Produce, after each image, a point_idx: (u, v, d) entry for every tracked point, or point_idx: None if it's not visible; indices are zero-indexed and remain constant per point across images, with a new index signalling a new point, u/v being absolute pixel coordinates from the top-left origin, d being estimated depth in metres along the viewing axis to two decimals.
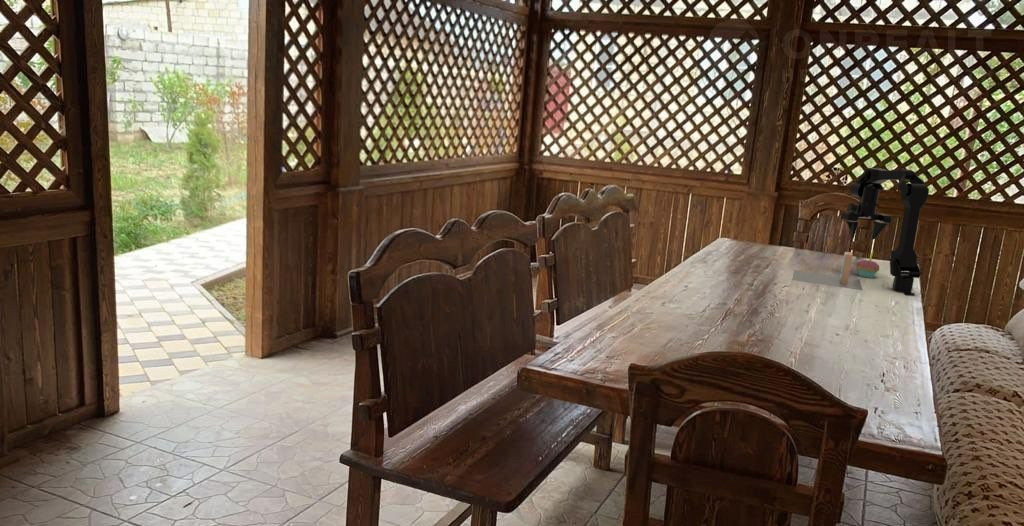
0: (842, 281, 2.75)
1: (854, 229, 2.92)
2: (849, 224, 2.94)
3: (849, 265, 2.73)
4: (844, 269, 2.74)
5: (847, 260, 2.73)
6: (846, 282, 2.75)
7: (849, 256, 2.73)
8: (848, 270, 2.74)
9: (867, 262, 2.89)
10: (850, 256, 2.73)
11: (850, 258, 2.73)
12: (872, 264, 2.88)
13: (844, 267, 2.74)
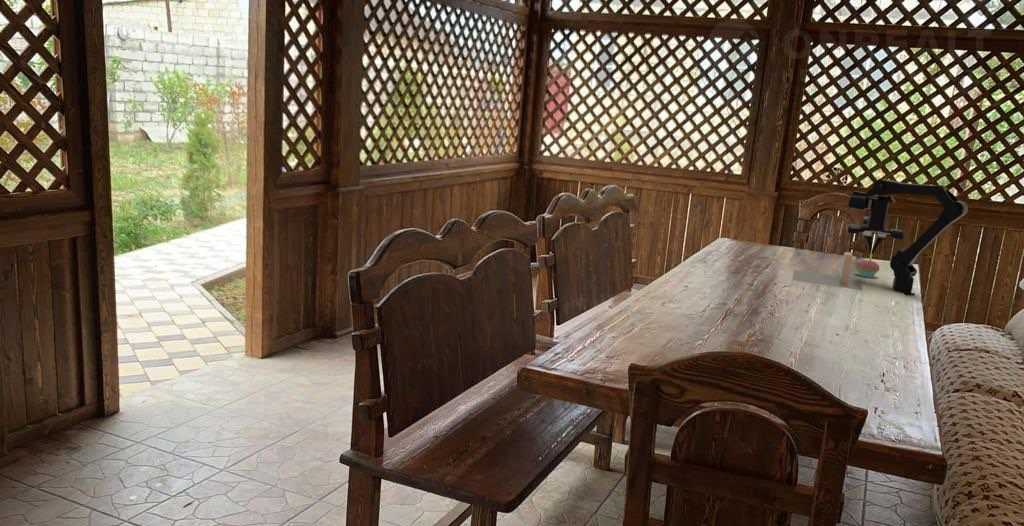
0: (842, 281, 2.75)
1: (869, 244, 2.75)
2: None
3: (849, 265, 2.73)
4: (844, 269, 2.74)
5: (847, 260, 2.73)
6: (846, 282, 2.75)
7: (849, 256, 2.73)
8: (848, 270, 2.74)
9: (867, 262, 2.89)
10: (850, 256, 2.73)
11: (850, 258, 2.73)
12: (872, 264, 2.88)
13: (844, 267, 2.74)
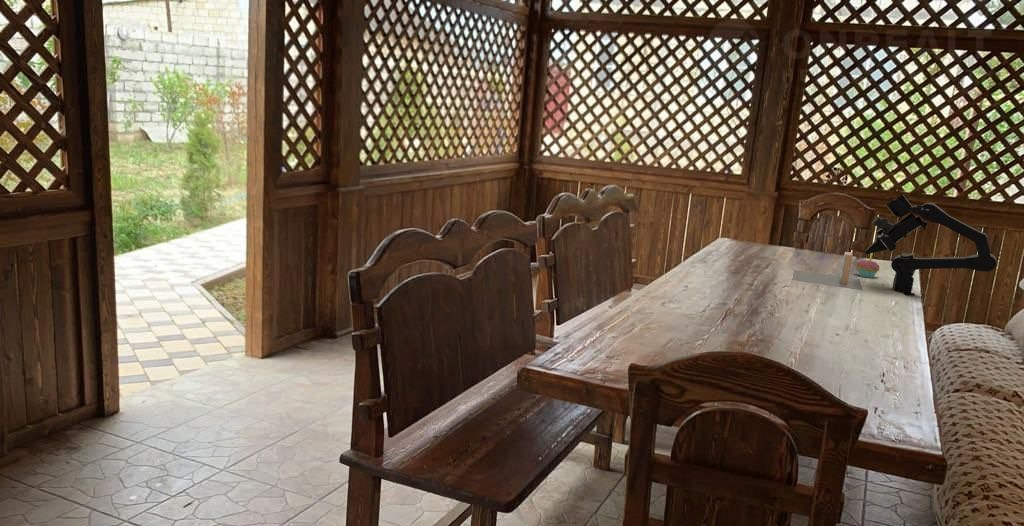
0: (842, 281, 2.75)
1: None
2: (877, 243, 2.70)
3: (849, 265, 2.73)
4: (844, 269, 2.74)
5: (847, 260, 2.73)
6: (846, 282, 2.75)
7: (849, 256, 2.73)
8: (848, 270, 2.74)
9: (867, 262, 2.89)
10: (850, 256, 2.73)
11: (850, 258, 2.73)
12: (872, 264, 2.88)
13: (844, 267, 2.74)
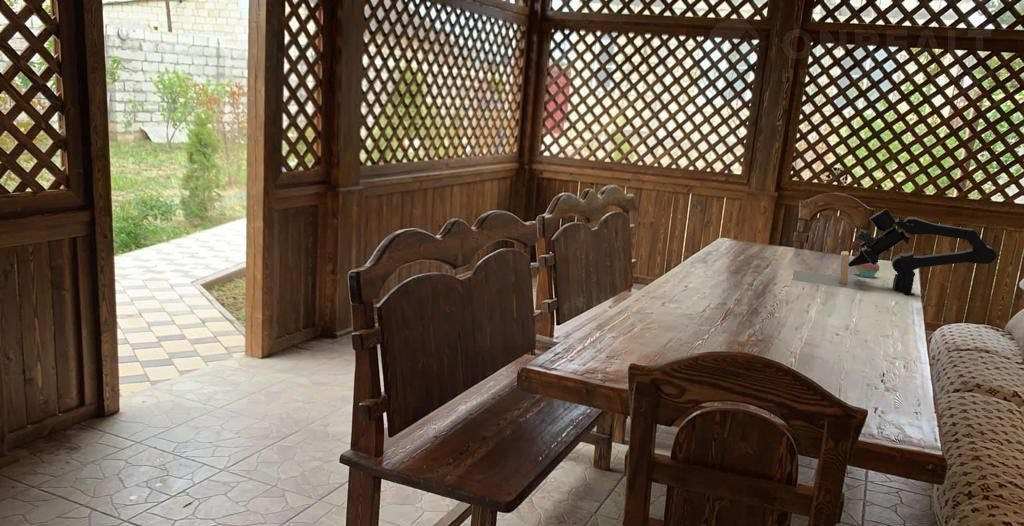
0: (842, 281, 2.75)
1: None
2: (860, 256, 2.73)
3: (847, 264, 2.73)
4: (842, 269, 2.74)
5: (844, 260, 2.74)
6: (846, 281, 2.75)
7: (845, 255, 2.73)
8: (846, 269, 2.74)
9: None
10: (846, 255, 2.73)
11: (847, 257, 2.73)
12: (872, 264, 2.88)
13: (842, 267, 2.74)
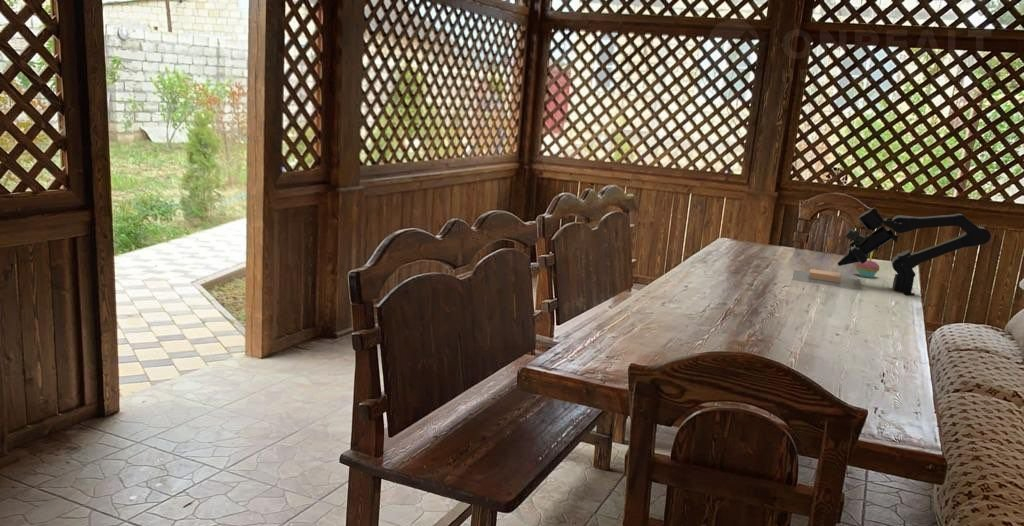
0: (838, 281, 2.76)
1: None
2: (849, 255, 2.74)
3: (820, 275, 2.78)
4: (825, 279, 2.77)
5: (815, 276, 2.78)
6: (839, 277, 2.75)
7: (810, 275, 2.79)
8: (826, 276, 2.77)
9: (867, 262, 2.89)
10: (810, 274, 2.79)
11: (813, 274, 2.79)
12: (872, 264, 2.88)
13: (822, 279, 2.78)
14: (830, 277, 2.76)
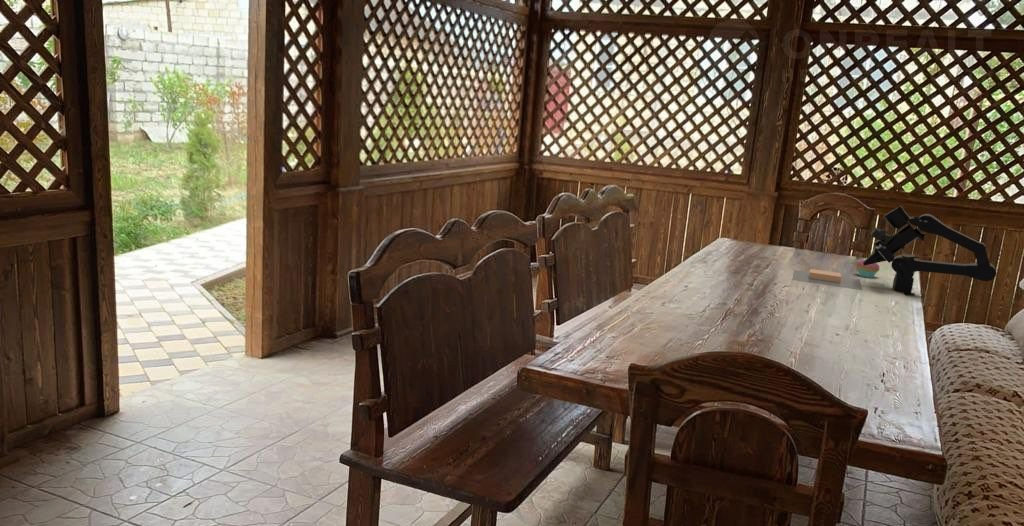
0: (838, 281, 2.76)
1: None
2: (875, 254, 2.71)
3: (820, 275, 2.78)
4: (825, 279, 2.77)
5: (815, 276, 2.78)
6: (839, 277, 2.75)
7: (810, 275, 2.79)
8: (826, 276, 2.77)
9: None
10: (810, 274, 2.79)
11: (813, 274, 2.79)
12: (872, 264, 2.88)
13: (822, 279, 2.78)
14: (830, 277, 2.76)
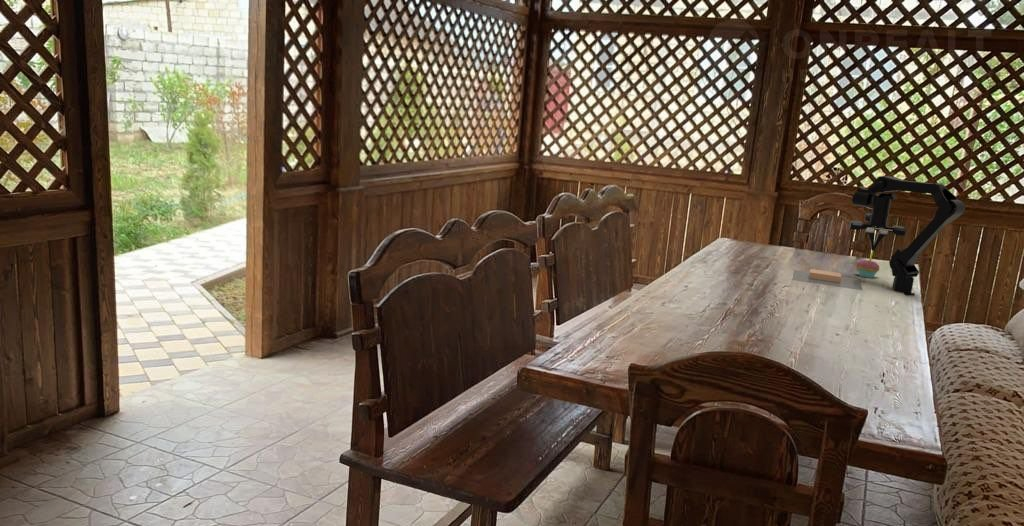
0: (838, 281, 2.76)
1: (871, 240, 2.77)
2: (870, 235, 2.79)
3: (820, 275, 2.78)
4: (825, 279, 2.77)
5: (815, 276, 2.78)
6: (839, 277, 2.75)
7: (810, 275, 2.79)
8: (826, 276, 2.77)
9: (867, 262, 2.89)
10: (810, 274, 2.79)
11: (813, 274, 2.79)
12: (872, 264, 2.88)
13: (822, 279, 2.78)
14: (830, 277, 2.76)
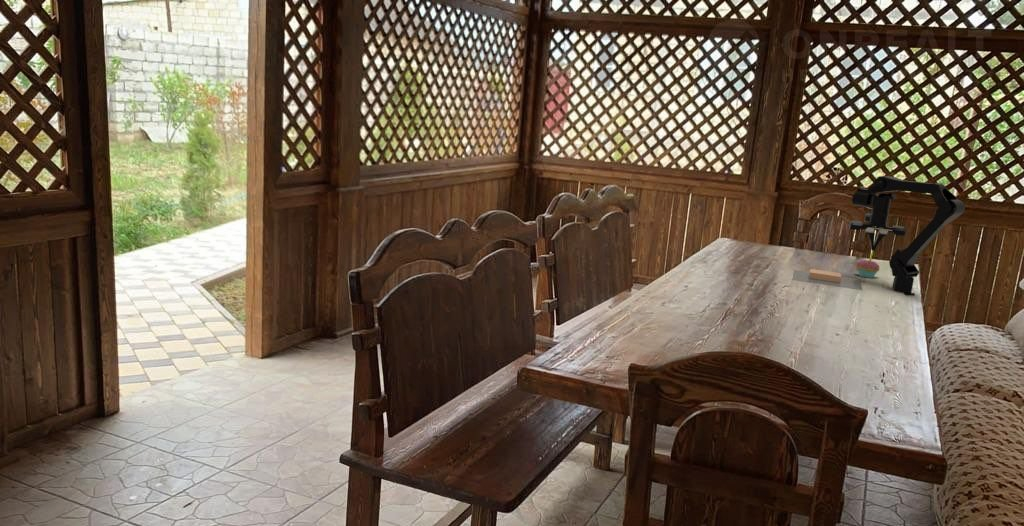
0: (838, 281, 2.76)
1: (871, 241, 2.77)
2: (870, 235, 2.79)
3: (820, 275, 2.78)
4: (825, 279, 2.77)
5: (815, 276, 2.78)
6: (839, 277, 2.75)
7: (810, 275, 2.79)
8: (826, 276, 2.77)
9: (867, 262, 2.89)
10: (810, 274, 2.79)
11: (813, 274, 2.79)
12: (872, 264, 2.88)
13: (822, 279, 2.78)
14: (830, 277, 2.76)
